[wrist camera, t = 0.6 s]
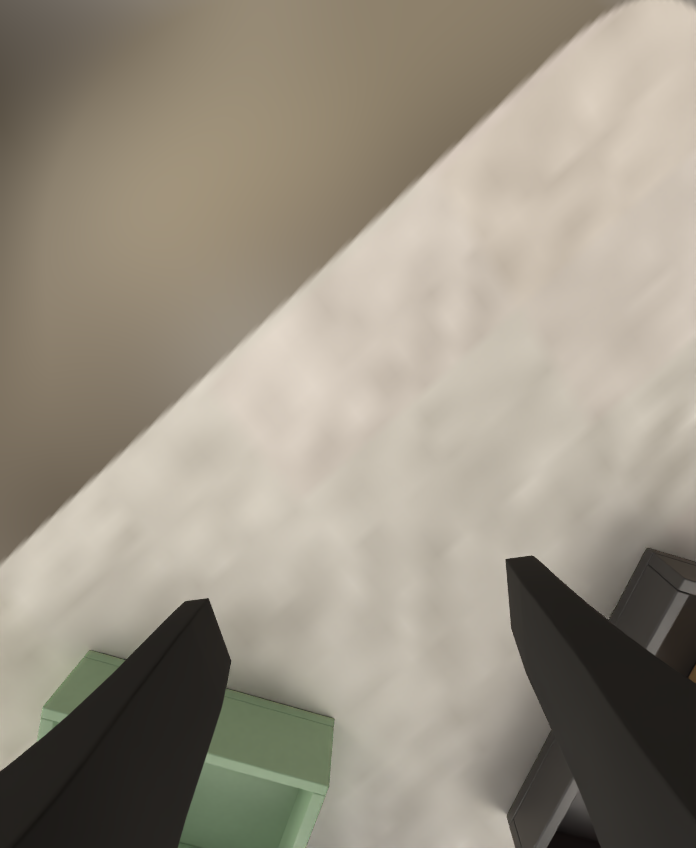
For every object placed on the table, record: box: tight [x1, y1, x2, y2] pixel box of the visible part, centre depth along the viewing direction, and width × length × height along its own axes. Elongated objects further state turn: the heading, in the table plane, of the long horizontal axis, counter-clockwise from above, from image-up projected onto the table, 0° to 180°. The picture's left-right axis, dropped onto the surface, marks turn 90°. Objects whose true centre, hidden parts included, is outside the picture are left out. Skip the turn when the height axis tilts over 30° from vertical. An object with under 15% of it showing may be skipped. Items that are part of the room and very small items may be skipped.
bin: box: [37, 650, 334, 848], centre depth 23 cm, size 11×13×4 cm
